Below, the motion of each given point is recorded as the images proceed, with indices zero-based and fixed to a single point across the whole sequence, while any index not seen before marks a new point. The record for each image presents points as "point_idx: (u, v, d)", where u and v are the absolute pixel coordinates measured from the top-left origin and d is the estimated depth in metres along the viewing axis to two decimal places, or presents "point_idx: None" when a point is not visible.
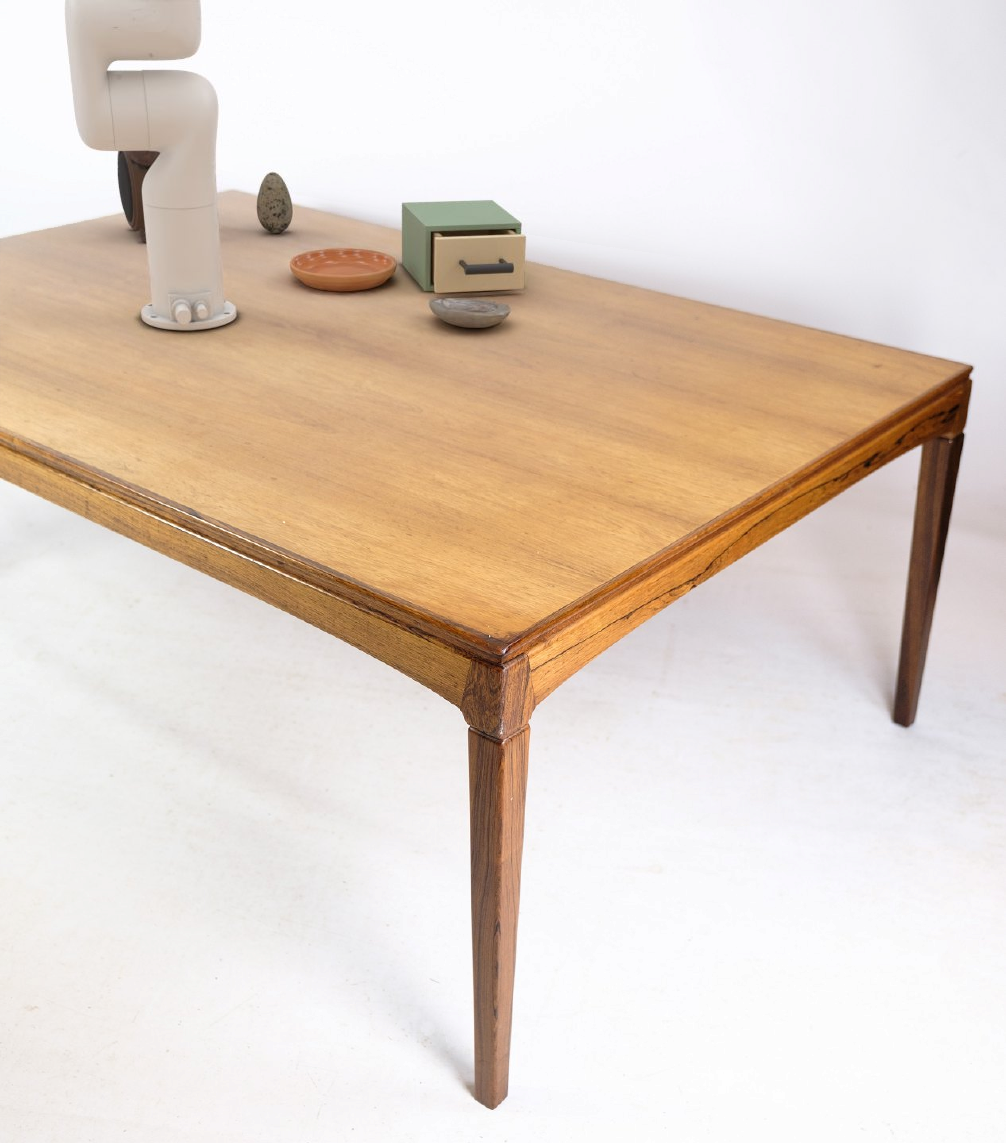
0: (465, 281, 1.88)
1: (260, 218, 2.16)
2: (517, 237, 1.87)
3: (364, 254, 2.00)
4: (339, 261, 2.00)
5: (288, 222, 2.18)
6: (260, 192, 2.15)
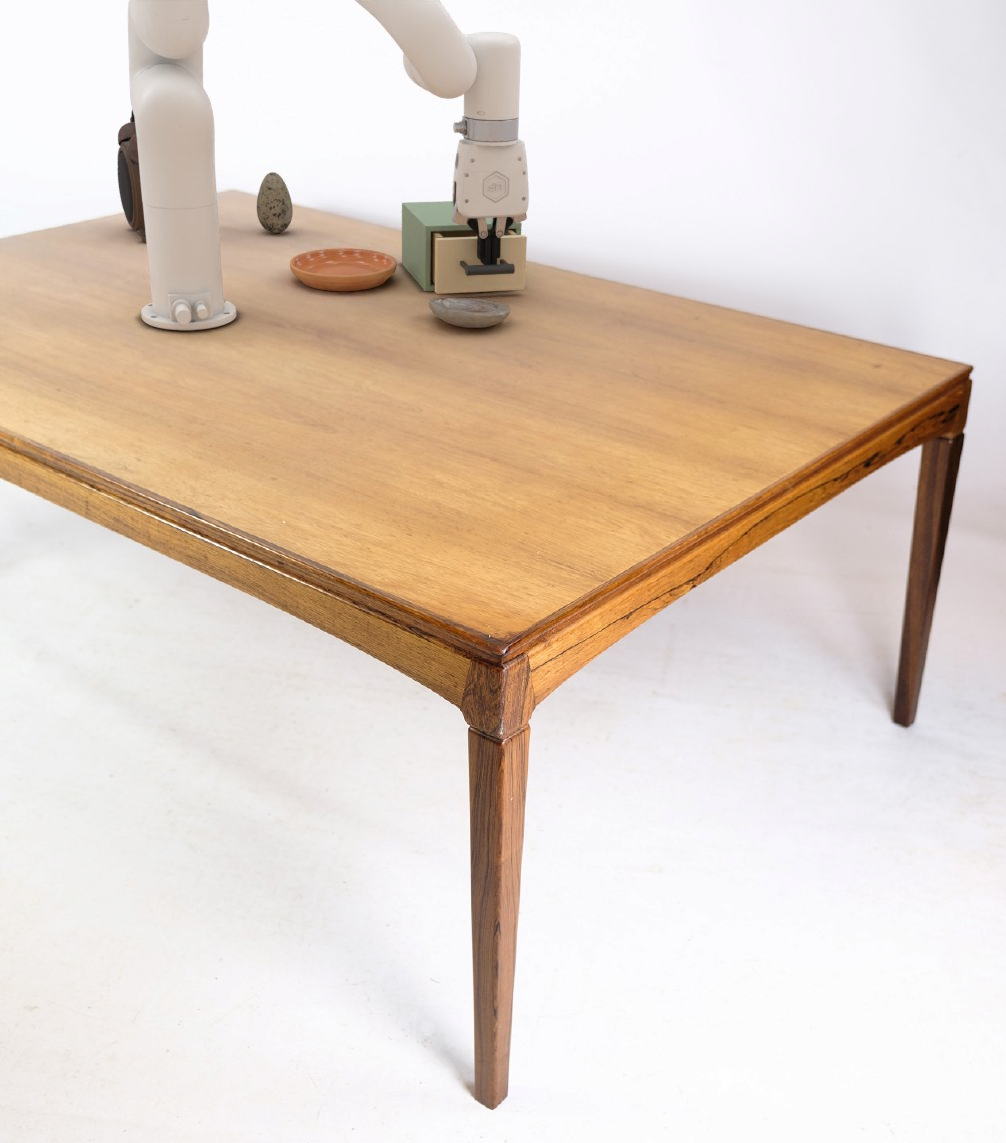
0: (466, 282, 1.88)
1: (260, 218, 2.16)
2: (518, 238, 1.87)
3: (364, 254, 2.00)
4: (339, 261, 2.00)
5: (288, 222, 2.18)
6: (260, 192, 2.15)
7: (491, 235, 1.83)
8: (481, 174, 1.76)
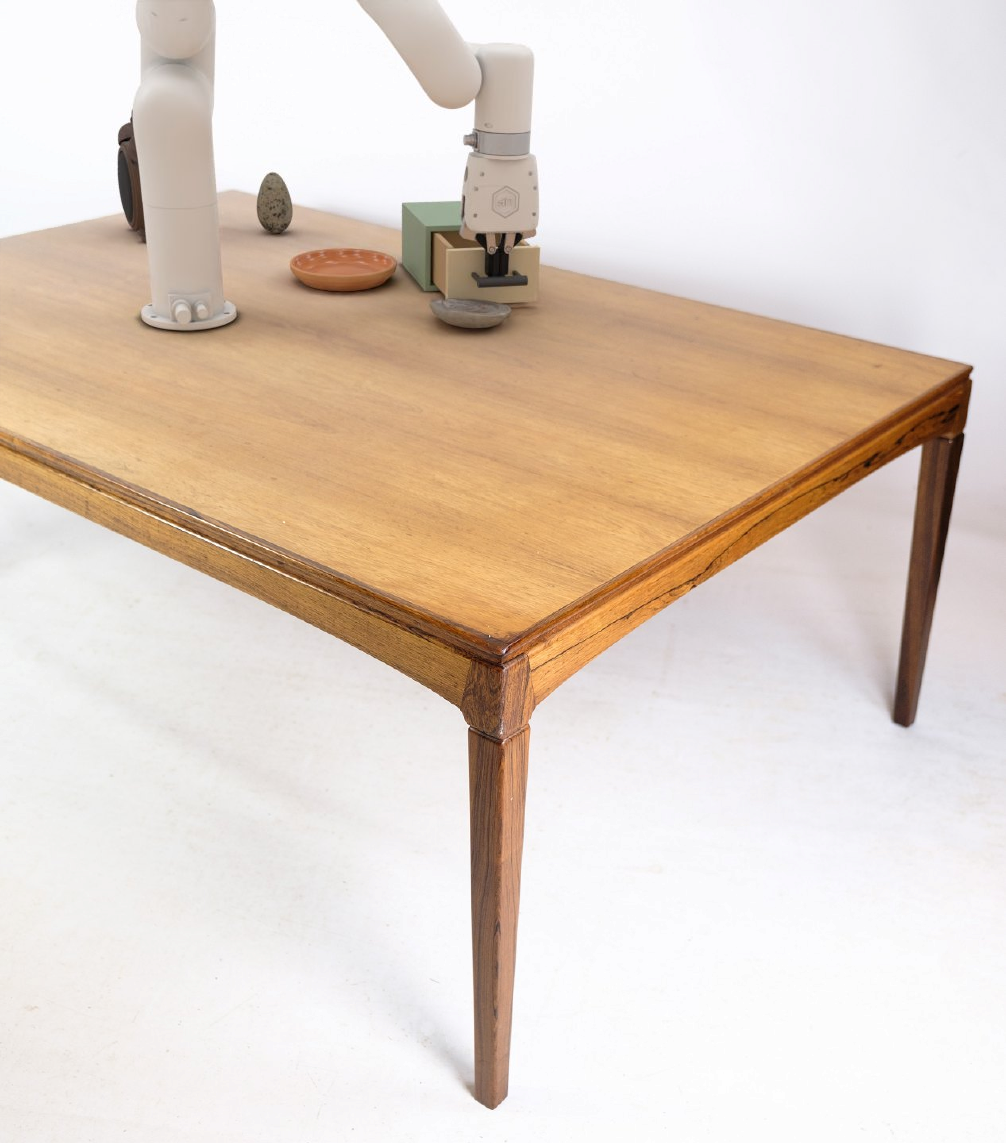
0: (477, 294, 1.82)
1: (260, 218, 2.16)
2: (531, 248, 1.82)
3: (364, 254, 2.00)
4: (339, 261, 2.00)
5: (288, 222, 2.18)
6: (260, 192, 2.15)
7: (499, 251, 1.78)
8: (491, 188, 1.71)
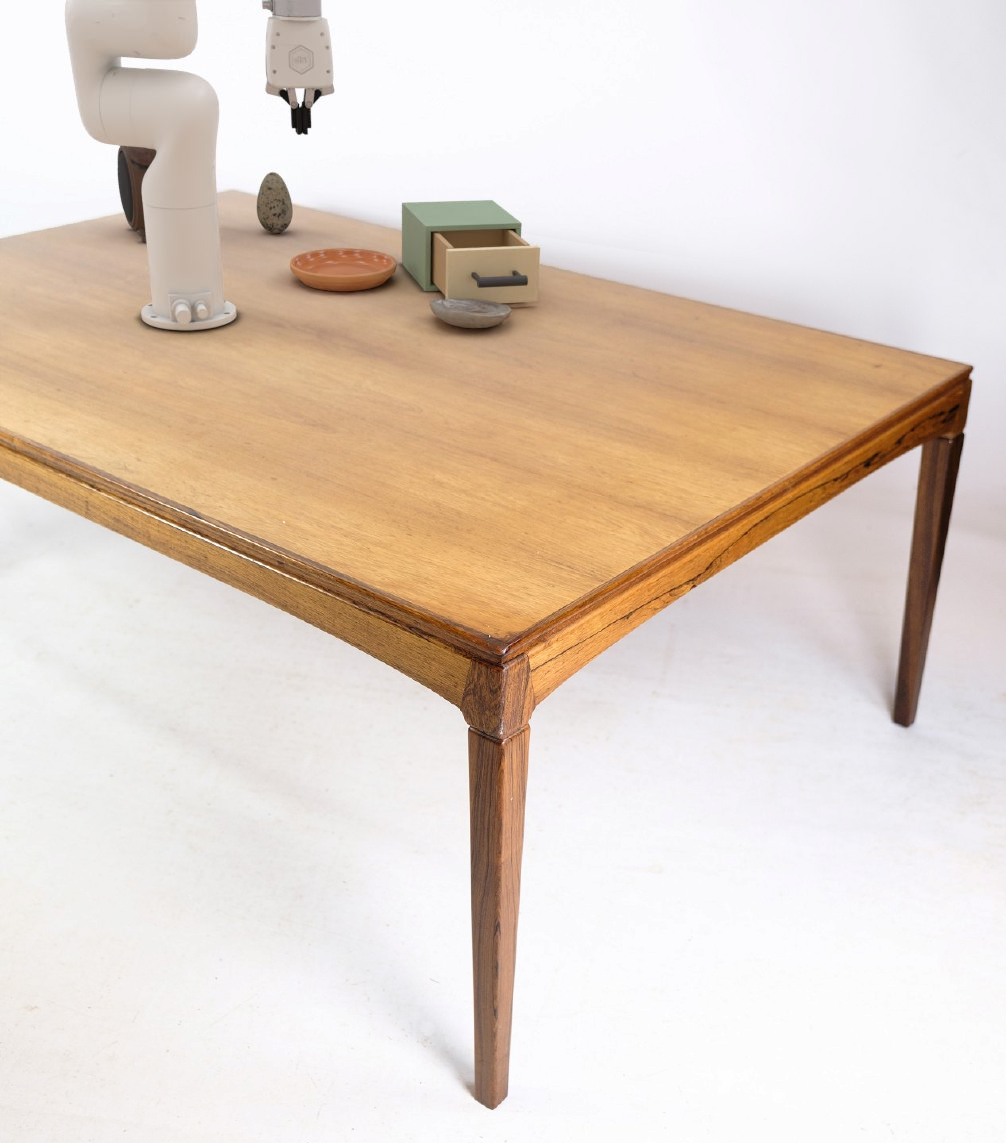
0: (477, 294, 1.82)
1: (260, 218, 2.16)
2: (531, 248, 1.82)
3: (364, 254, 2.00)
4: (339, 261, 2.00)
5: (288, 222, 2.18)
6: (260, 192, 2.15)
7: (302, 106, 2.04)
8: (286, 47, 1.97)
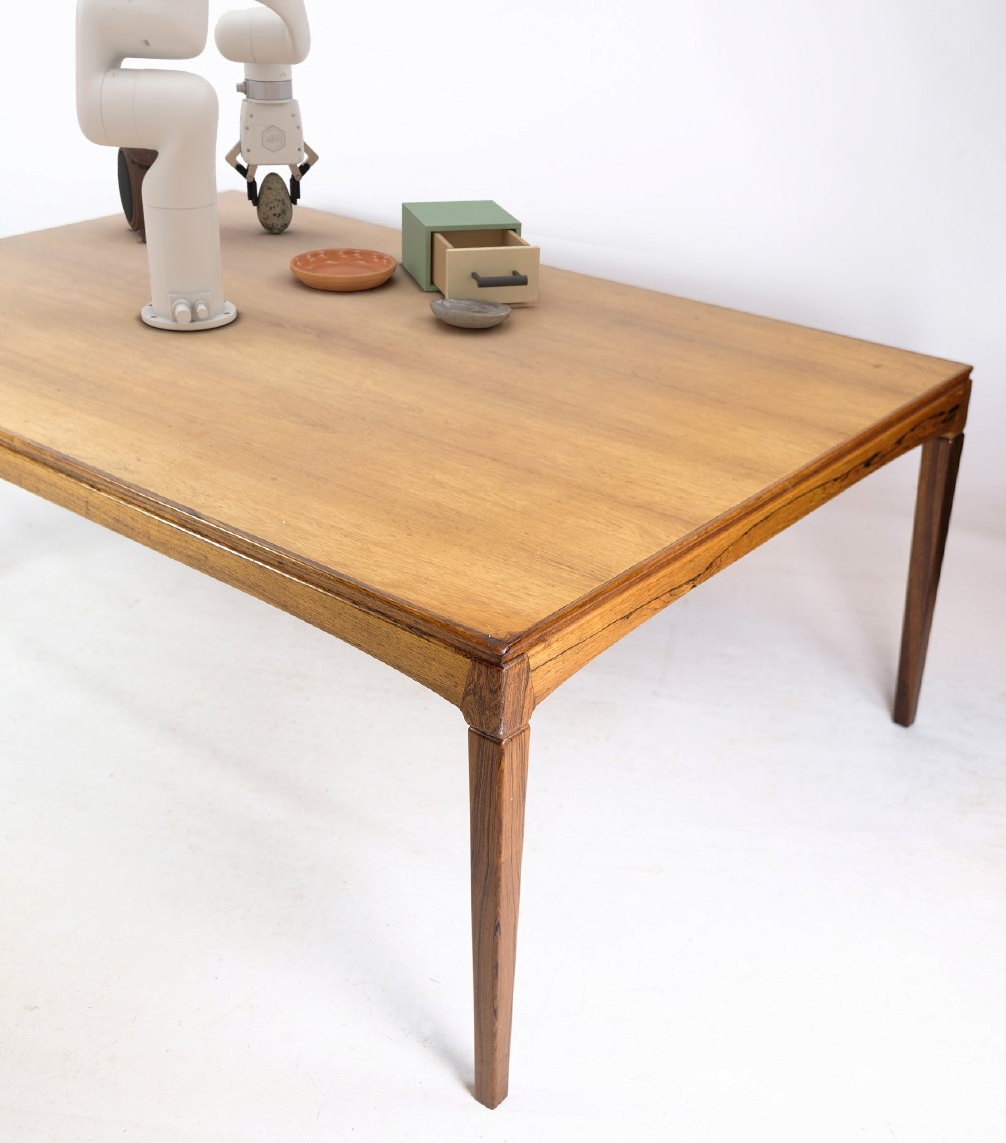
0: (477, 294, 1.82)
1: (260, 218, 2.16)
2: (531, 248, 1.82)
3: (364, 254, 2.00)
4: (339, 261, 2.00)
5: (288, 222, 2.18)
6: (260, 192, 2.15)
7: (292, 179, 2.16)
8: (260, 127, 2.08)
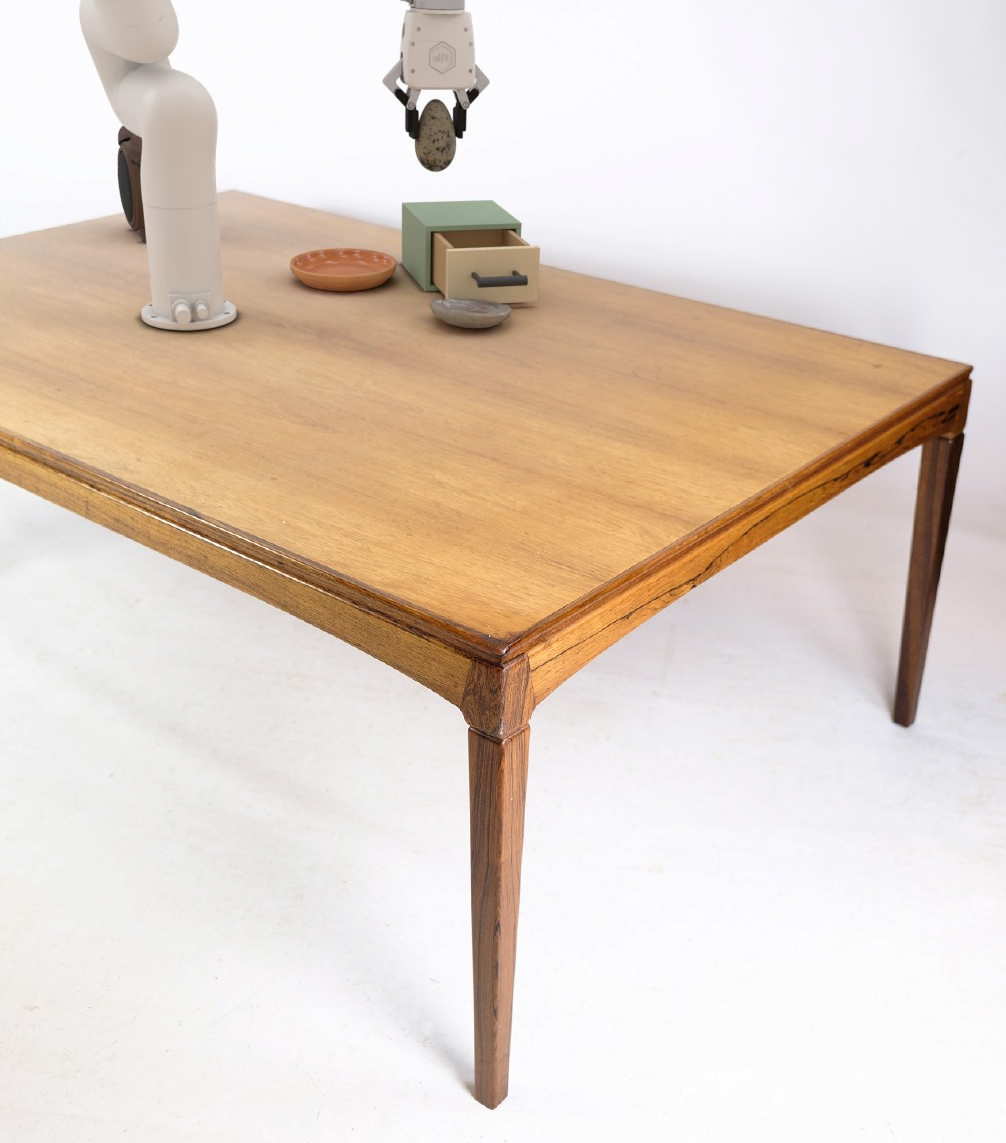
0: (477, 294, 1.82)
1: (420, 153, 1.84)
2: (531, 248, 1.82)
3: (364, 254, 2.00)
4: (339, 261, 2.00)
5: (451, 158, 1.86)
6: (421, 122, 1.83)
7: (457, 107, 1.84)
8: (427, 43, 1.76)
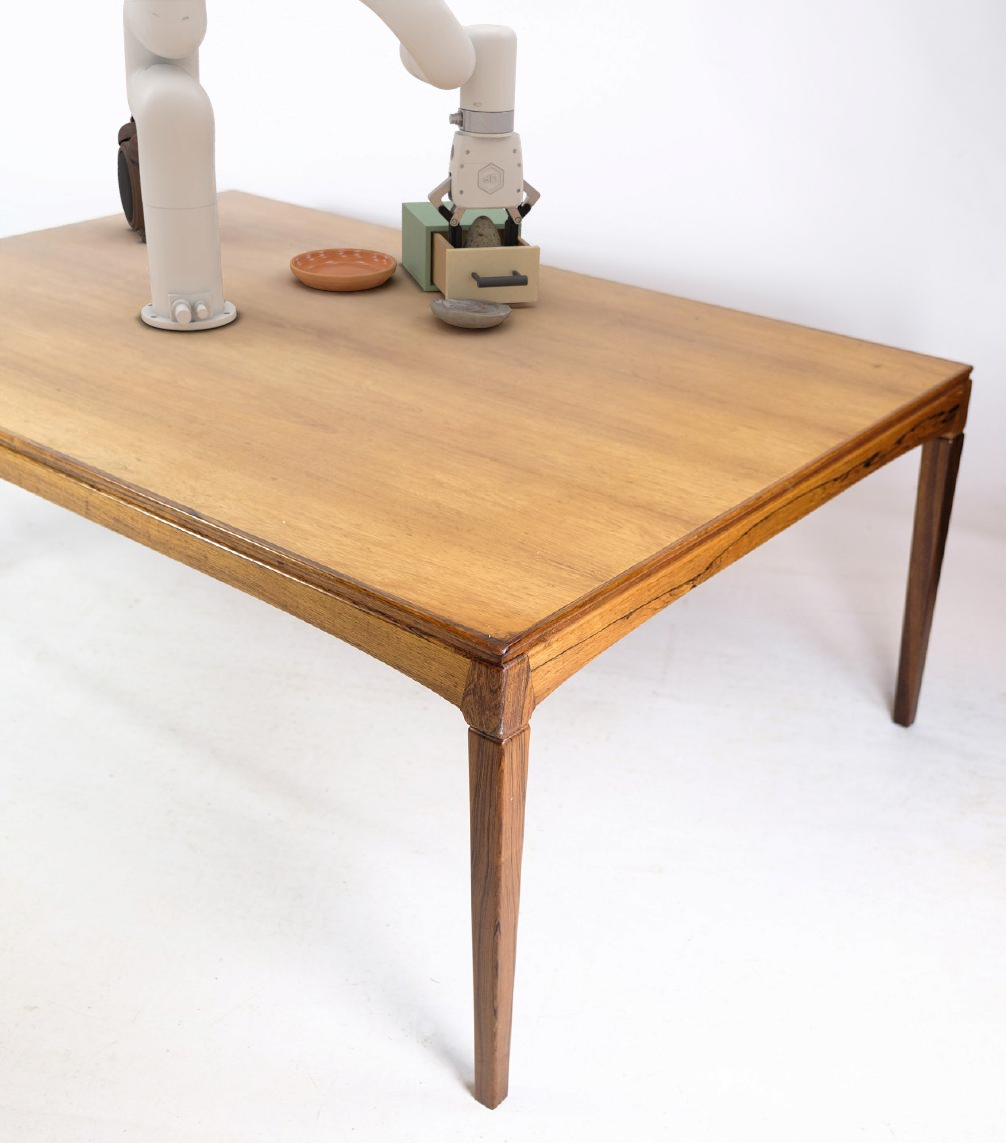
0: (477, 294, 1.82)
1: None
2: (531, 248, 1.82)
3: (364, 254, 2.00)
4: (339, 261, 2.00)
5: None
6: (468, 239, 1.84)
7: (509, 221, 1.85)
8: (476, 165, 1.77)
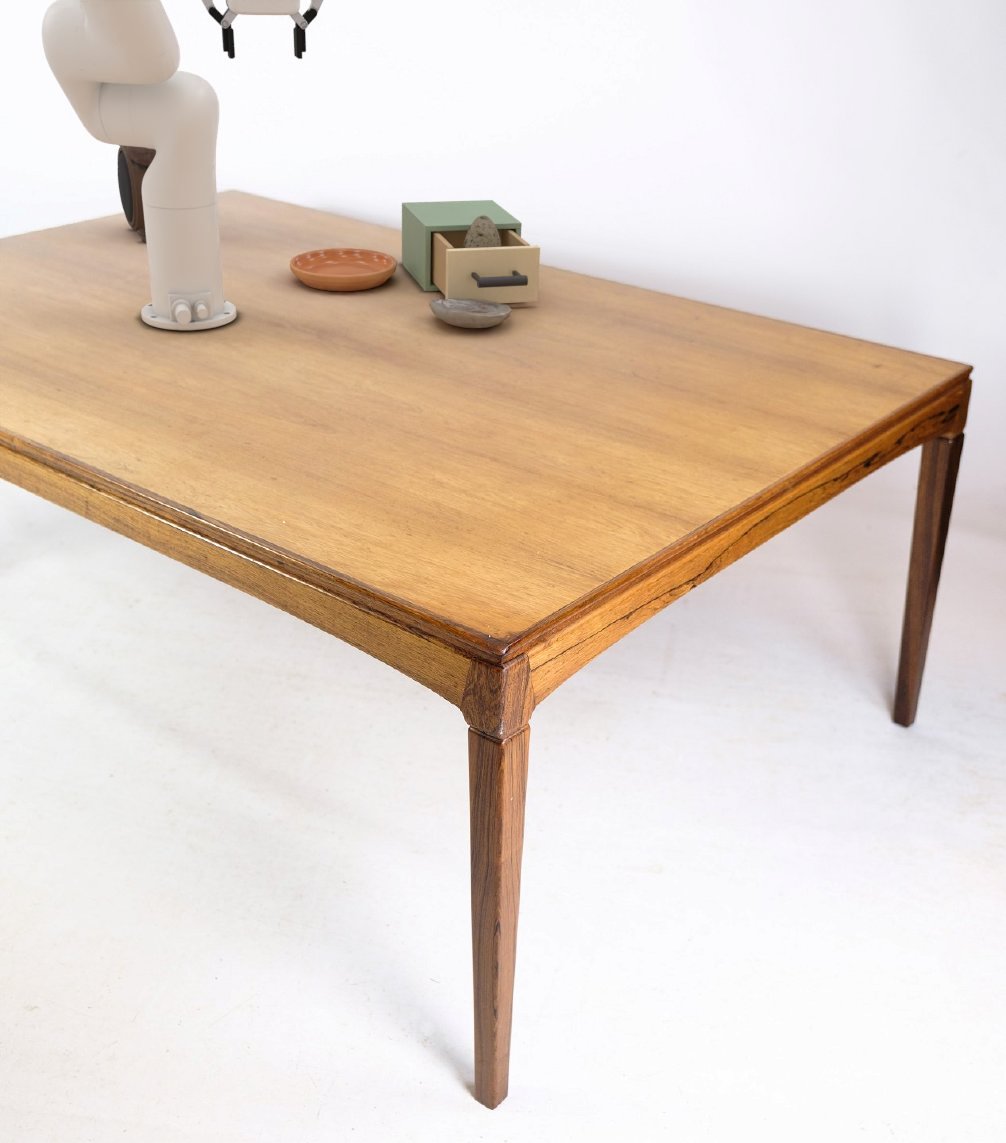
0: (477, 294, 1.82)
1: None
2: (531, 248, 1.82)
3: (364, 254, 2.00)
4: (339, 261, 2.00)
5: None
6: (468, 239, 1.84)
7: (296, 27, 1.86)
8: None
